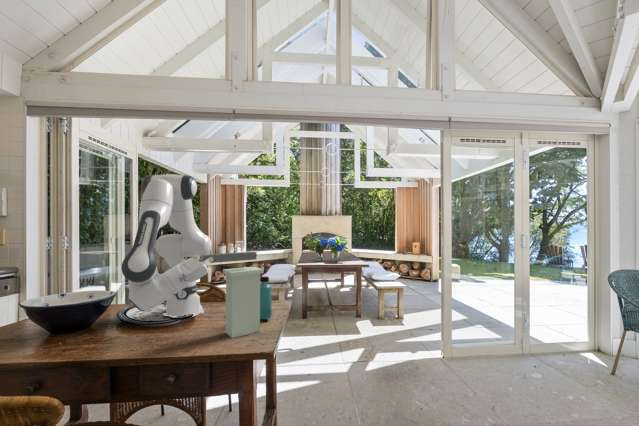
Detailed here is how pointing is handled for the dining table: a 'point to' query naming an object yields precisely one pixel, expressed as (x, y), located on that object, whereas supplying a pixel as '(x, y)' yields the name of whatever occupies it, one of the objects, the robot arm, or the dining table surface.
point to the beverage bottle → (265, 299)
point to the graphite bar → (230, 257)
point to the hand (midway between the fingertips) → (210, 257)
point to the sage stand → (242, 300)
